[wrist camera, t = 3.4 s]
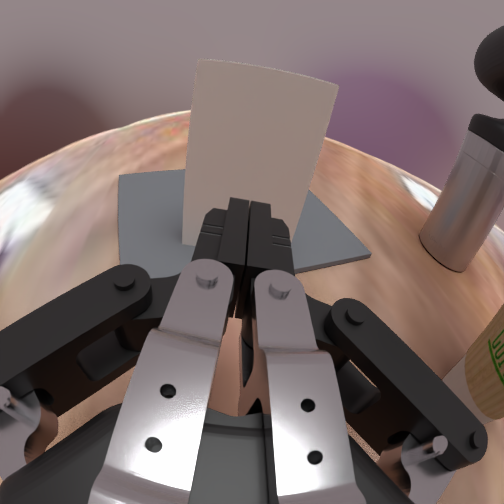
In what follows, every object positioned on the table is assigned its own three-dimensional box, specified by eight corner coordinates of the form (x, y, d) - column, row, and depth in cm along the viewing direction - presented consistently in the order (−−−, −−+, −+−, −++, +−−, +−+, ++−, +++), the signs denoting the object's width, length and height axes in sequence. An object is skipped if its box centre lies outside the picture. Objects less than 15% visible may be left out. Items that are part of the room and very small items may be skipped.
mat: (283, 171, 41) (284, 167, 40) (369, 257, 28) (371, 253, 27) (119, 179, 31) (119, 175, 31) (124, 303, 18) (123, 298, 18)
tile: (285, 260, 24) (339, 85, 14) (182, 244, 23) (198, 59, 14) (283, 244, 26) (331, 82, 16) (187, 229, 25) (204, 59, 15)
